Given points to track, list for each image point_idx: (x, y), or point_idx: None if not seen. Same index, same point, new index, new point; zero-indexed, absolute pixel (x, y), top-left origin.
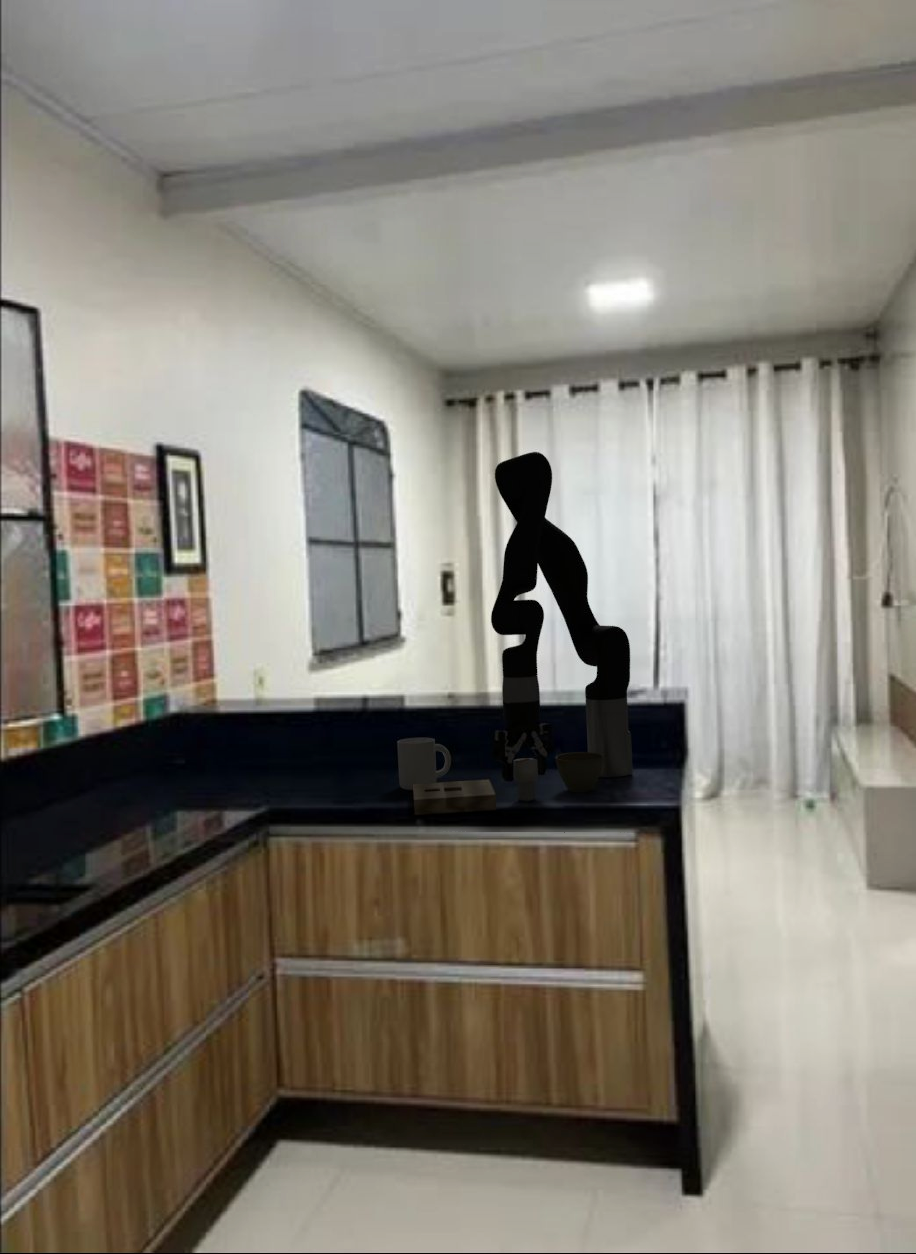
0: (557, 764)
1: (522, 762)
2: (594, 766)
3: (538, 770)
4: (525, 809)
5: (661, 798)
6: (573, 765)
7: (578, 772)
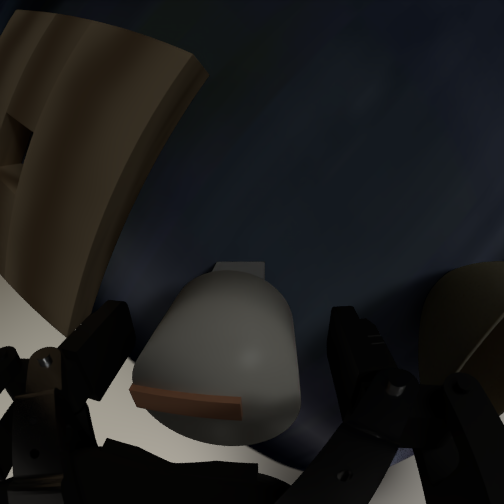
0: (457, 335)
1: (159, 421)
2: None
3: (333, 340)
4: None
5: None
6: None
7: None
